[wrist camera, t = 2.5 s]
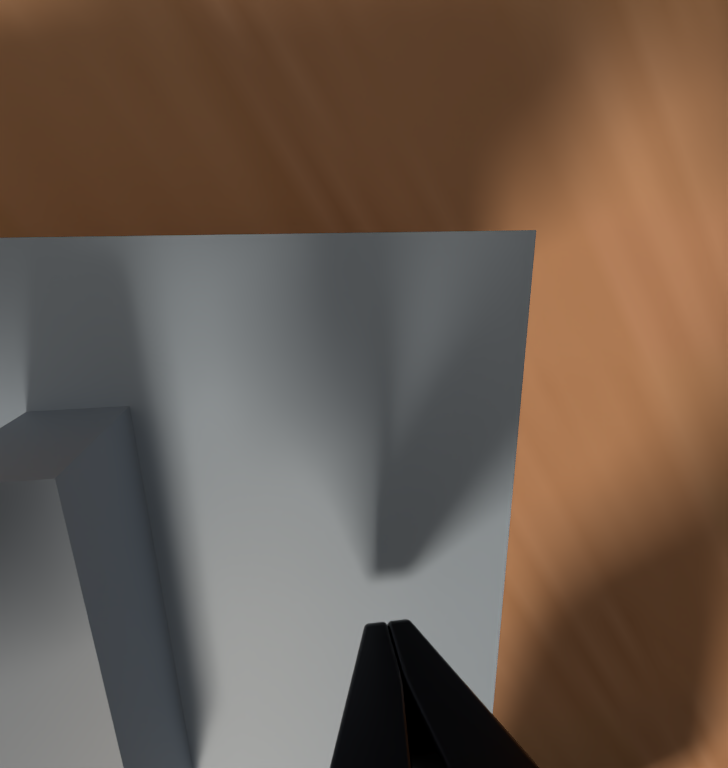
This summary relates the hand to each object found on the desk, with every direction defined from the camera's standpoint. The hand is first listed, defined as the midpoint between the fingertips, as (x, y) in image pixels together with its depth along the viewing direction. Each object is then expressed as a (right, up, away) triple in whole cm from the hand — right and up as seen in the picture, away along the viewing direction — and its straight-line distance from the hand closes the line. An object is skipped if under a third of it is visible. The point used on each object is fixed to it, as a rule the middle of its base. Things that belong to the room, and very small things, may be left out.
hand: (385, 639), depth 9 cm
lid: (-5, 0, +1) cm, 5 cm away
